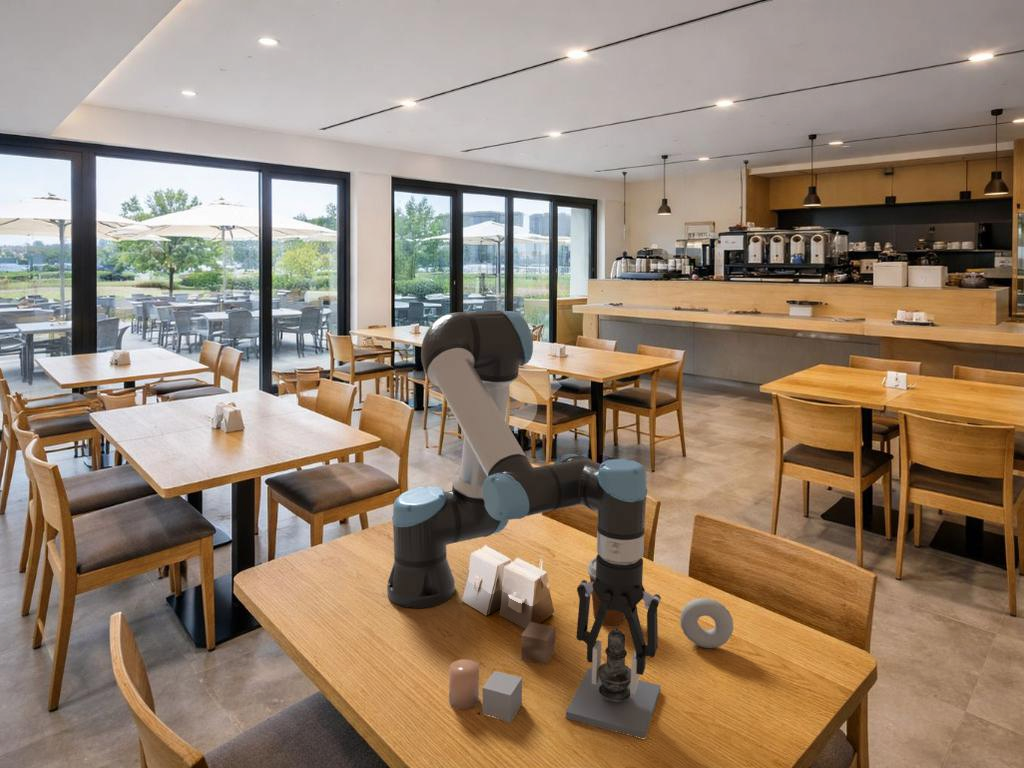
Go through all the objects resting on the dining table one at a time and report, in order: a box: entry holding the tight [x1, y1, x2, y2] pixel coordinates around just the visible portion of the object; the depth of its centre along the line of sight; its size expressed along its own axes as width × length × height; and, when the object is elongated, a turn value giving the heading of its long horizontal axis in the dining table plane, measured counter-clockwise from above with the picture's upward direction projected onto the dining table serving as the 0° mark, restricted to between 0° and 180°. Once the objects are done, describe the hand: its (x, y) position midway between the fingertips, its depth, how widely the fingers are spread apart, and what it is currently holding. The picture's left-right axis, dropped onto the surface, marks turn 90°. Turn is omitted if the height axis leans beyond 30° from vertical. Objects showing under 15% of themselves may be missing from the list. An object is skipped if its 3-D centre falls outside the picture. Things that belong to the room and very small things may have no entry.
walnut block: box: [520, 621, 556, 666], centre depth 126 cm, size 5×5×5 cm
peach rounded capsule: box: [448, 659, 480, 710], centre depth 113 cm, size 5×5×6 cm
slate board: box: [565, 667, 661, 739], centre depth 112 cm, size 13×13×1 cm
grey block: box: [481, 670, 523, 723], centre depth 111 cm, size 5×5×5 cm
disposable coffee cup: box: [586, 557, 625, 626], centre depth 139 cm, size 10×10×12 cm
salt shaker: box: [598, 626, 631, 702], centre depth 111 cm, size 6×6×12 cm
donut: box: [679, 597, 735, 649], centre depth 129 cm, size 10×4×10 cm, turn 70°
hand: (614, 683), depth 112 cm, fingers closed on salt shaker, 6 cm apart
